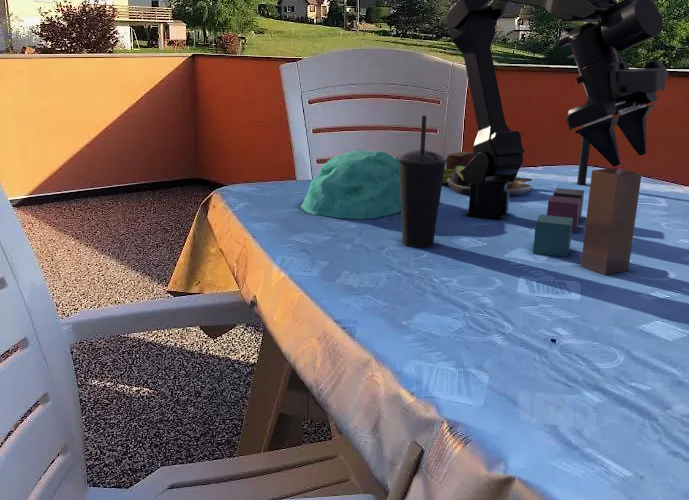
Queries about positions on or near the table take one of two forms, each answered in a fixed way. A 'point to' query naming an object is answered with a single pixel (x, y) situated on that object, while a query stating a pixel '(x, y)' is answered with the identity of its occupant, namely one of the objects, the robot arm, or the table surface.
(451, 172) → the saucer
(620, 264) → the walnut block
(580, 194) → the cube far
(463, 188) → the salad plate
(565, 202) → the cube mid
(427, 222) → the drinking cup
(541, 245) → the cube near
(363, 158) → the decorative stone
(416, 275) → the table surface
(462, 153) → the brick
